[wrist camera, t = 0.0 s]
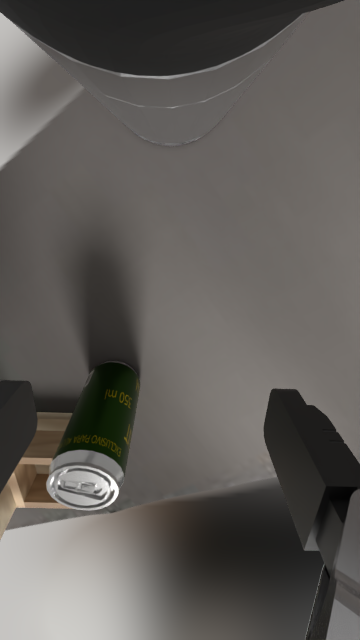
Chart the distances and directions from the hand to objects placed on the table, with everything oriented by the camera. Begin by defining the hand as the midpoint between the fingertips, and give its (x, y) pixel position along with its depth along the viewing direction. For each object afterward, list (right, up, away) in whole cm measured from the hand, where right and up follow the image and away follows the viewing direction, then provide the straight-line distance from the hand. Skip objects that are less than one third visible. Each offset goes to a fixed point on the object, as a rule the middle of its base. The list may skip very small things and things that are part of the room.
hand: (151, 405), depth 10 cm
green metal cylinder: (-6, -3, +21) cm, 22 cm away
